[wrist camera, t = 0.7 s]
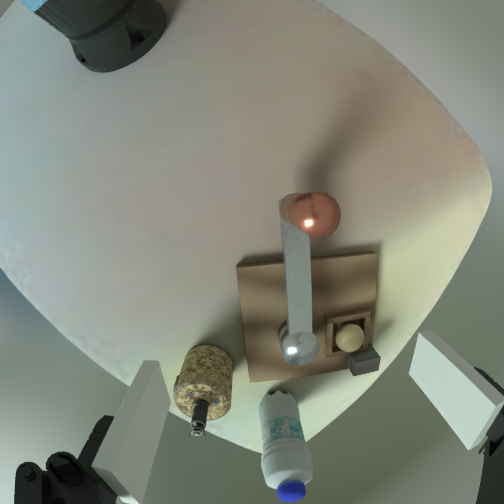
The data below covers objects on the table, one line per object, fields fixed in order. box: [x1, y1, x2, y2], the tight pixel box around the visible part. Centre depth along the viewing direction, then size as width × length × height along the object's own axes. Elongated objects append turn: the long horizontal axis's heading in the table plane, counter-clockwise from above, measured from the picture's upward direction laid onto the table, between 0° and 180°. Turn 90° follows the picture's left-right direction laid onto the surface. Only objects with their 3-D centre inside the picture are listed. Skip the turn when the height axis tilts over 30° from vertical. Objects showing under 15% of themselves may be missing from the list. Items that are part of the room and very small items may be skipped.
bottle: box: [259, 391, 313, 502], centre depth 31 cm, size 7×7×20 cm
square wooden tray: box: [236, 251, 381, 382], centre depth 35 cm, size 18×19×6 cm
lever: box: [279, 193, 341, 365], centre depth 27 cm, size 21×5×12 cm, turn 5°
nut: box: [336, 324, 364, 352], centre depth 35 cm, size 4×4×4 cm
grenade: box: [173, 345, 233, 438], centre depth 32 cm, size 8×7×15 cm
